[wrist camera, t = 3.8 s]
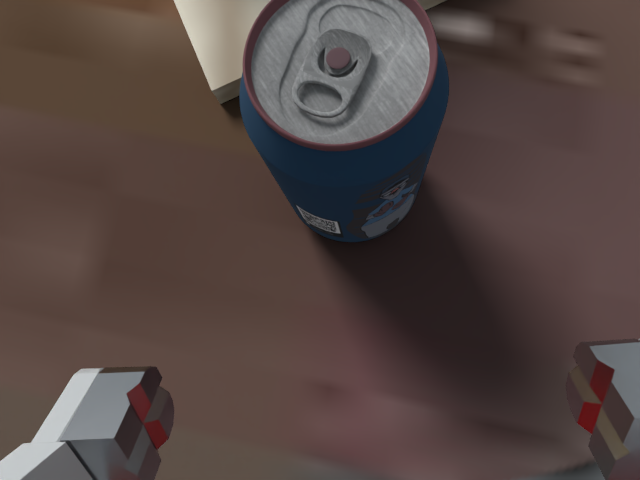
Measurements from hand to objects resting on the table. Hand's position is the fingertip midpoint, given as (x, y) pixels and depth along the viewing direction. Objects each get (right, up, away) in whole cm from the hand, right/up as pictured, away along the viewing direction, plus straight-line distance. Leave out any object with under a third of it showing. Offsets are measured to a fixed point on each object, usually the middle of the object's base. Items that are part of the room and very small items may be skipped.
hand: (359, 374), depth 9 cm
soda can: (+1, +6, +16) cm, 17 cm away
